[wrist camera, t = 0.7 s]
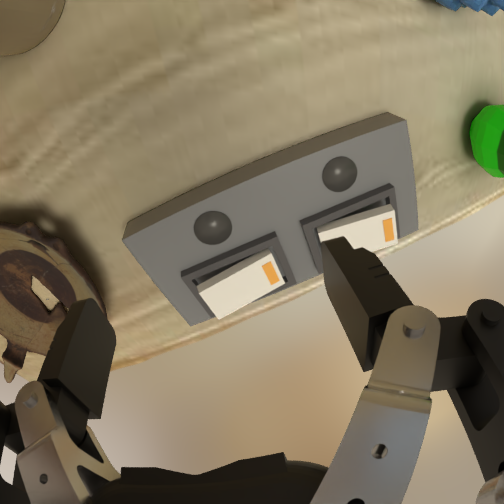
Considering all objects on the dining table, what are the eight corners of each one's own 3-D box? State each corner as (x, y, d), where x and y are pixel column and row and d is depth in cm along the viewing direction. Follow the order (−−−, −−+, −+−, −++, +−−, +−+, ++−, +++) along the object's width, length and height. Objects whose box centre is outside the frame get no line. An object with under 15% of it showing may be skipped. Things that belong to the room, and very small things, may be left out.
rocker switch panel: (190, 306, 39) (190, 332, 35) (127, 222, 31) (119, 246, 27) (403, 215, 36) (422, 234, 33) (387, 112, 28) (412, 122, 24)
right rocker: (325, 257, 33) (328, 265, 32) (316, 226, 30) (318, 234, 29) (394, 236, 31) (398, 244, 30) (390, 203, 29) (394, 210, 28)
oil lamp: (153, 293, 37) (148, 341, 31) (37, 361, 42) (28, 397, 36) (27, 158, 24) (-10, 189, 18) (-54, 281, 30) (-74, 314, 23)
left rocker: (215, 312, 33) (218, 320, 32) (196, 285, 31) (198, 293, 30) (280, 276, 34) (285, 283, 32) (267, 247, 31) (271, 253, 30)
